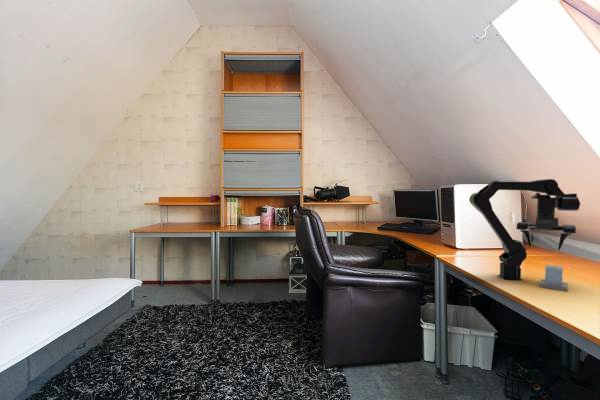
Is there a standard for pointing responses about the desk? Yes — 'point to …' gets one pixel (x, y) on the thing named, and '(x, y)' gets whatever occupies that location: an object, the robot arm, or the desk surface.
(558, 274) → the pale blue cube
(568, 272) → the desk surface
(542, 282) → the base plate
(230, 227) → the desk surface
